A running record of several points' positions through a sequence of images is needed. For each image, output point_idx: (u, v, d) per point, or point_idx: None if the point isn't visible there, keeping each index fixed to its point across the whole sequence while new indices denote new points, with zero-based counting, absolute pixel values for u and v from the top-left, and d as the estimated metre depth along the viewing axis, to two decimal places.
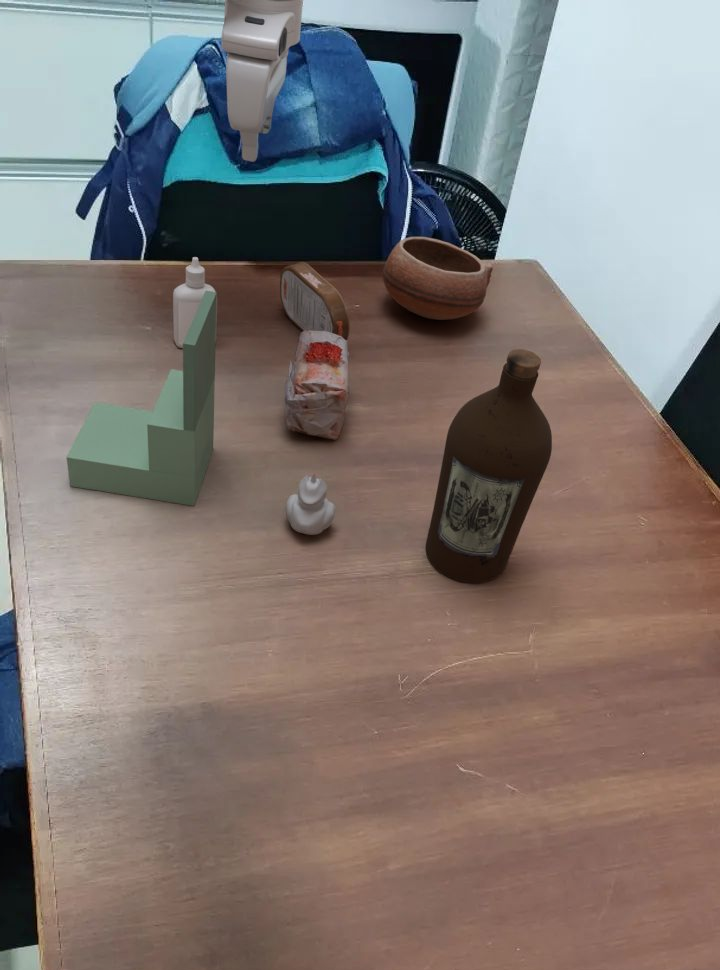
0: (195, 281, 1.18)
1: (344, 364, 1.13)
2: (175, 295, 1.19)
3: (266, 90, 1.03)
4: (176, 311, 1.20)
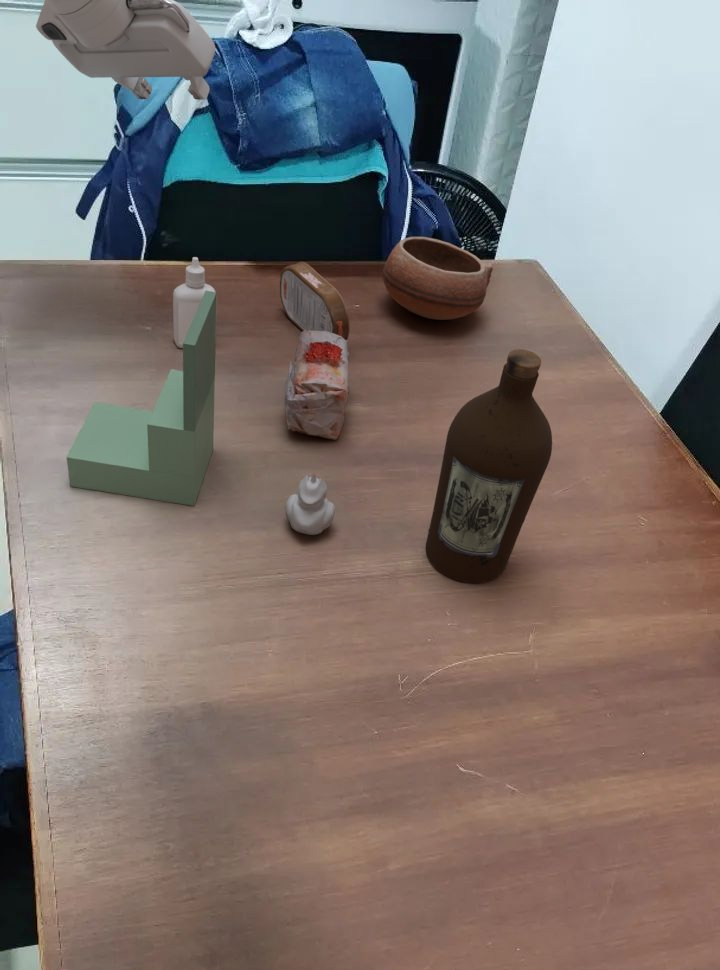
0: (195, 281, 1.18)
1: (344, 364, 1.13)
2: (175, 295, 1.19)
3: (61, 53, 1.08)
4: (176, 311, 1.20)
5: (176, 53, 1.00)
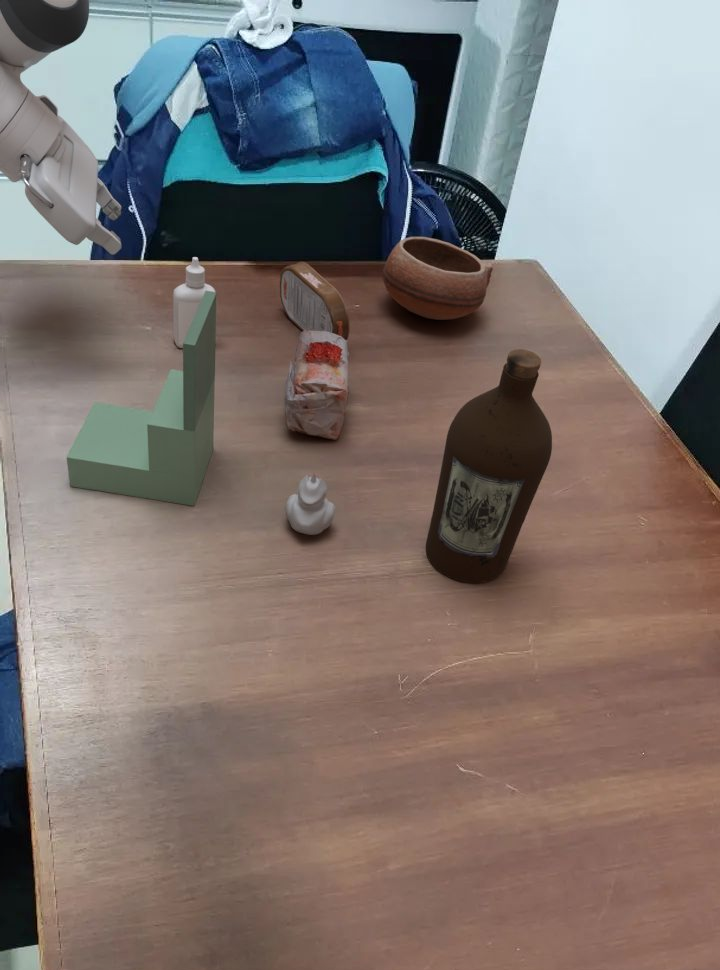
0: (195, 281, 1.18)
1: (344, 364, 1.13)
2: (175, 295, 1.19)
3: None
4: (176, 311, 1.20)
5: None
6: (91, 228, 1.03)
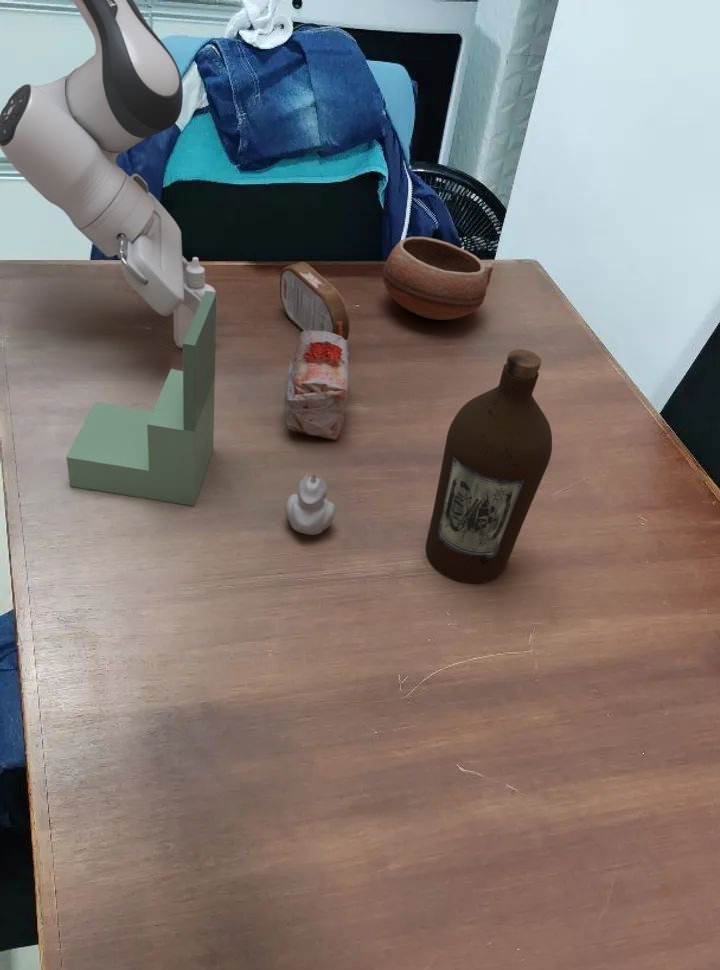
0: (195, 281, 1.18)
1: (344, 364, 1.13)
2: None
3: None
4: (176, 311, 1.20)
5: None
6: (180, 302, 1.11)
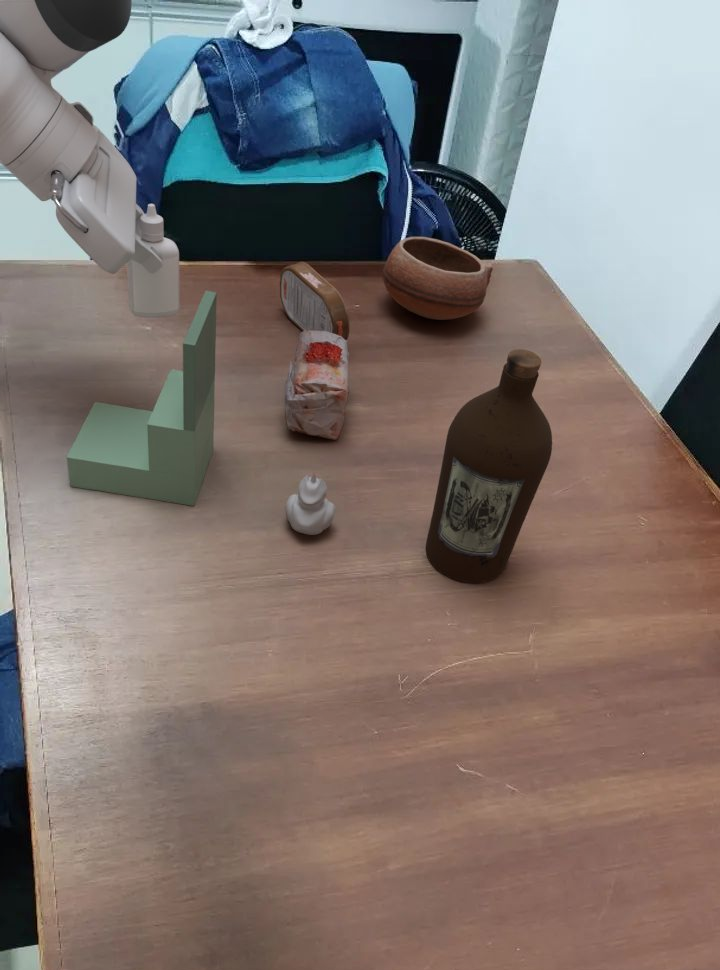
0: (152, 234, 0.98)
1: (344, 364, 1.13)
2: None
3: None
4: (130, 270, 1.00)
5: None
6: (130, 255, 0.91)
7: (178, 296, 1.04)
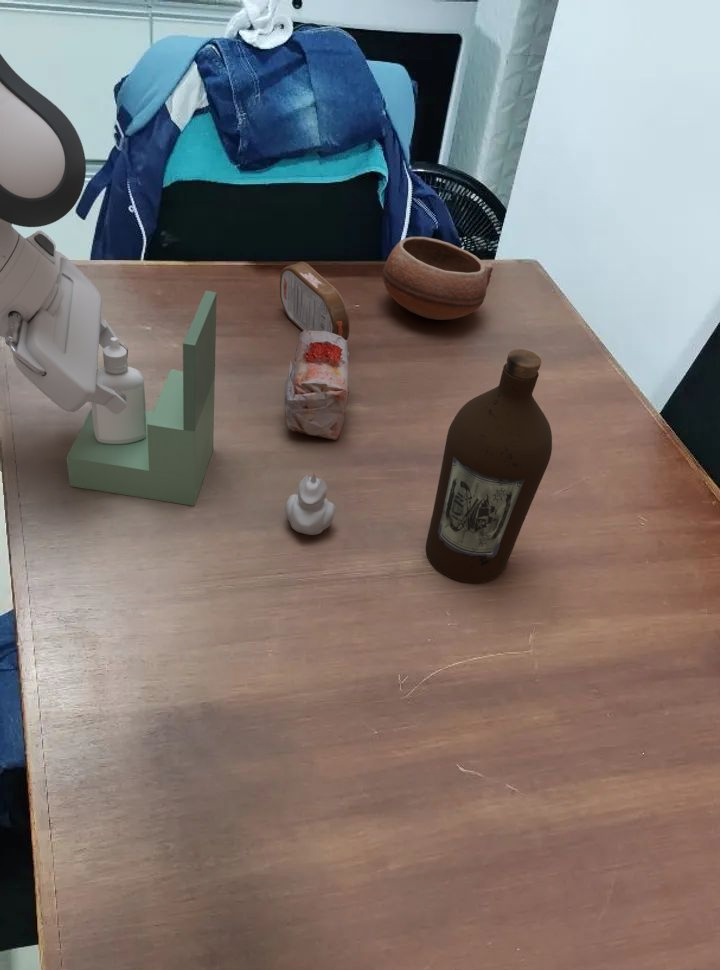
0: (115, 366, 0.95)
1: (344, 364, 1.13)
2: None
3: None
4: None
5: None
6: (90, 395, 0.88)
7: (144, 422, 1.02)
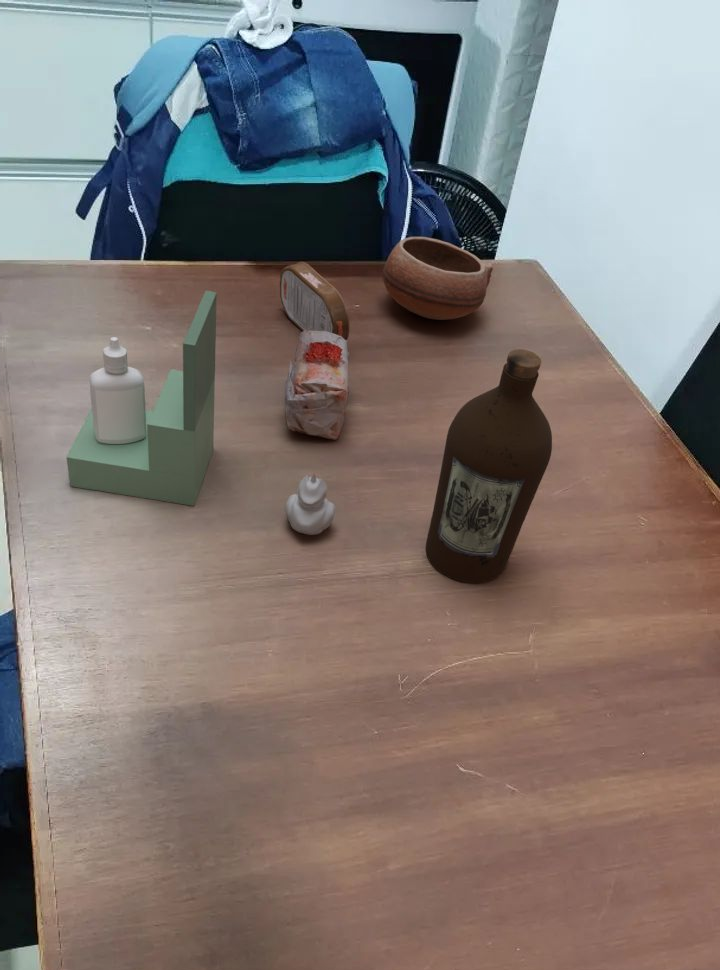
0: (115, 366, 0.95)
1: (344, 364, 1.13)
2: (91, 382, 0.96)
3: None
4: (93, 401, 0.98)
5: None
6: None
7: (144, 422, 1.02)
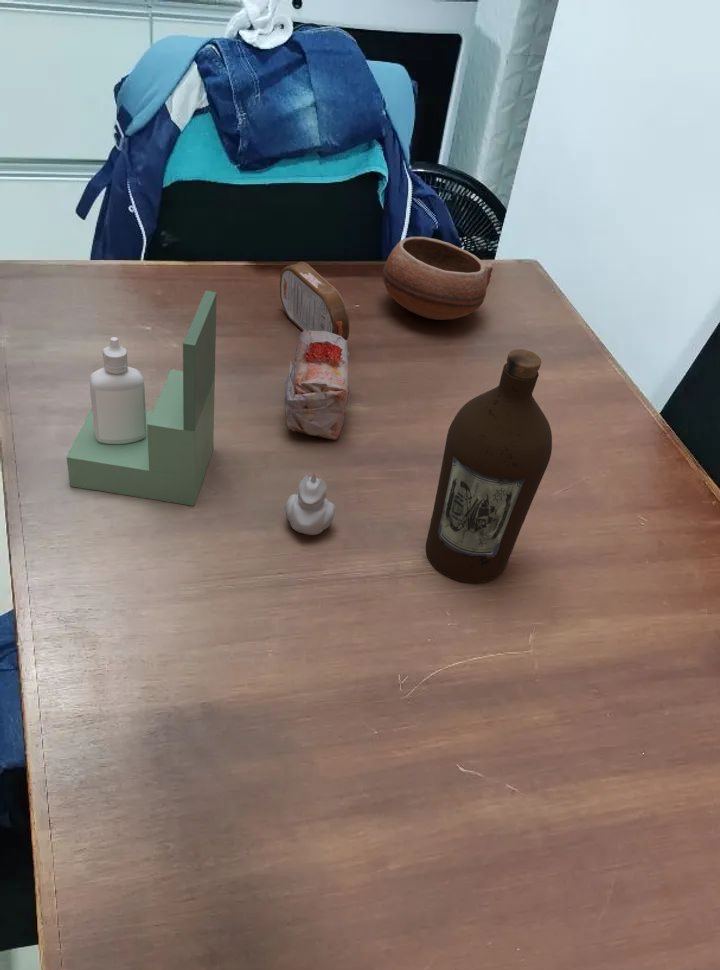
0: (115, 366, 0.95)
1: (344, 364, 1.13)
2: (91, 382, 0.96)
3: None
4: (93, 401, 0.98)
5: None
6: None
7: (144, 422, 1.02)
